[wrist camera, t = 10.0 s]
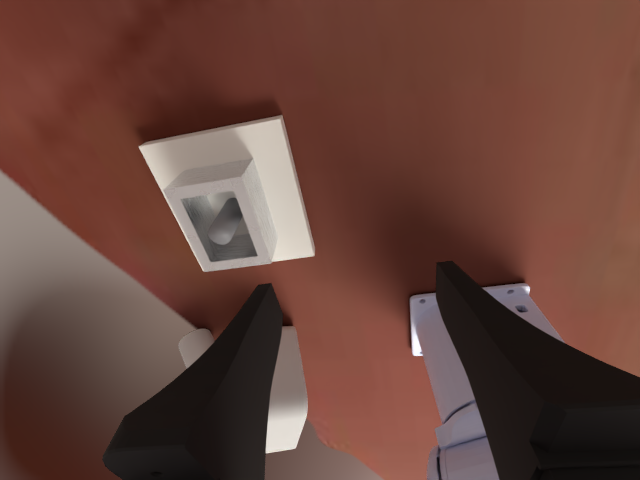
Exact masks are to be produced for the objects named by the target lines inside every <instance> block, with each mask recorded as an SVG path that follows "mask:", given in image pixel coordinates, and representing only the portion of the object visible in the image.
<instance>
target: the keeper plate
mask: <svg viewBox="0 0 640 480" xmlns="http://www.w3.org/2000/svg"><path fill="white" fill-rule="evenodd" d="M139 148H140V150H141V152H142V154H143V156H144V158H145V160H146V162H147V164H148V166H149V168H150V170H151V172H152V174H153V175H154V177H155V179H156V181H157V183H158V185H159V187H160V189H161V191H162V193H163V195H164V197H165V199H166V201H167V202H168V204H169V206H170V208H171V210H172V212H173V214H174V216H175V218H176V220H177V222H178V224H179V226H180V227H181V229H182V231H183V233H184V235H185V237H186V239H187V241H188V243H189V245H190V247H191V249H192V251H193V253H194V254H195V252H194V250H193V248H192V246H191V244H190V242H189V240H188V238H187V236H186V234H185V232H184V230H183V228H182V226H181V224H180V222H179V220H178V218H177V216H176V214H175V212H174V210H173V208H172V206H171V204H170V202H169V200H168V198H167V197H166V195H165V193H164V191H163V189H164V188H166V187H167V186H168V185H169V184H170V183H171V182H172V181H173V180H174V179H175V178H176V177H178V176H179V175H180V174H181V173H182V172H183V171H184V170H187V169H193V168H199V167H204V166H210V165H216V164H222V163H227V162H233V161H239V160H244V159H250V158H254V161H255V164H256V168H257V171H258V174H259V177H260V180H261V184H262V187H263V190H264V193H265V196H266V200H267V203H268V206H269V209H270V212H271V216H272V219H273V222H274V225H275V229H276V232H277V235H278V241H277V245H276V249H275V252H274V256H273V260H272V262H274V261H282V260H289V259H296V258H304V257H311V256H314V255H315V246H314V242H313V238H312V234H311V230H310V226H309V222H308V218H307V214H306V209H305V205H304V201H303V197H302V193H301V189H300V185H299V181H298V177H297V173H296V169H295V164H294V160H293V156H292V152H291V148H290V144H289V140H288V136H287V132H286V128H285V124H284V120H283V115H279V116H274V117H269V118H264V119H259V120H254V121H249V122H244V123H239V124H234V125H229V126H224V127H219V128H214V129H209V130H204V131H199V132H194V133H189V134H184V135H179V136H174V137H169V138H164V139H159V140H154V141H149V142H146V143H144V144H142V145H140V146H139ZM207 198H208V200H209V202H210V205H211V207H212V209H213V212H214V214H215V216H216V218H215V220H214V221H213V223H212V225H211V226H210V228H209V229H208V236H209V238H210V239H211V240H212V241H213V242H215V243H217V244H221V245H224V244H227V243H229V242H230V241H231V239H232V237H233V236H235V235H242V234H249V231H248V228H247V225H246V222H245V220H244V217H243V214H242V212H241V209H240V206H239V204H238V201H237V198H236V195H235V193H234V190H233V191H227V192H221V193H215V194H208V195H207ZM195 256H196V254H195ZM196 258H197V260H198V262H199V264H200V266H201V268H202V270H203V271H204V269H203V267H202V265H201V263H200V261H199V259H198V257H197V256H196Z"/></svg>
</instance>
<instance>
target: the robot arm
mask: <svg viewBox="0 0 640 480" xmlns="http://www.w3.org/2000/svg"><path fill="white" fill-rule="evenodd" d="M509 290H510V291H509ZM529 292H530V287H529V286H528V285H527V284H526V283H519V284H510V285H501V286H492V287H483V288H482V287H481V286H479V285H478V284H477V283H476V282H475V281H474V280H473V279H471V278H470V277H469V276H468V275H467V274H466V273H465V272H464V271H463V270H462V269H460V268H459V267H458V266H457V265H456V264H455V263H454V262H453V261H446V262H438V263H437V266H436V293H429V294H420V295H414V296H412V297H411V298H410V323H411V348H412V354H413V355H414V356H423V358H424V361H425V365H426V368H427V372H428V376H429V379H430V383H431V386H432V390H433V393H434V397H435V400H436V404H437V407H438V411H439V414H440V418H441V421H442V425H441V426H439V427H437V428H435V432H436V436H437V440H438V444H439V445H437V446H434V447H433V448H432V449H431V451H430V454H429V459H428V465H427V480H640V377H637V376H635V375H633V374H630V373H628V372H625V371H623V370H621V369H618V368H616V367H614V366H611V365H609V364H606V363H604V362H602V361H600V360H598V359H596V358H594V357H592V356H589V355H587V354H585V353H583V352H581V351H579V350H577V349H575V348H573V347H571V346H569V345H567V344H565V342H564V341H563V340H562V338H561V337H560V336H559V334H558V333H557V332H556V330H555V329H554V328H553V326H552V325H551V324H550V323H549V321H548V320H547V319H546V317H545V316H544V315H543V313H542V312H541V311H540V309H539V308H538V307H537V305H536V304H535V303H534V301H533V300H532V299H531V297H530V296H529ZM422 299H424V300H422ZM282 322H283V313H282V311H281V308H280V305H279V303H278V300H277V297H276V294H275V292H274V289H273V286H272V284H271V283H269V284H261V285H258V286H257V287H256V289H255V290H254V291H253V293H252V294H251V296H250V297H249V298H248V300H247V301H246V303H245V304H244V305H243V307H242V308H241V309H240V311H239V312H238V313H237V315H236V316H235V317H234V319H233V320H232V321H231V323H230V324H229V325H228V326H227V327H226V329H225V330H224V331H223V332H222V334H221V335H220V336H219V337H218V338H217V339H216V341H215V342H214V343H213V344H212V345H211V346H210V347H209V348H208V349H207V350H206V351H205V352H204V353H203V354H202V355H201V356H200V357H199V358H198V359H197V360H196V361H195V362H194V363H193V364H192V365H190V366H189V367H188V368H187V369H186V370H185V371H184V372H183V373H182V374H181V375H180V376H178V377H177V378H176V379H175V380H174V381H172V382H171V383H170V384H169V385H167V386H166V387H165V388H163V389H162V390H161V391H160V392H159V393H157V394H156V395H154V396H153V397H152V398H150V399H149V400H147V401H146V402H145V403H143V404H142V405H140V406H139V407H137V408H136V409H135V410H133V411H132V412H131V413H129V414H128V415H126V416H125V417H124V418H123V420H122V422H121V424H120V425H119V427H118V429H117V431H116V433H115V435H114V436H113V438H112V440H111V442H110V444H109V446H108V447H107V449H106V451H105V453H104V455H103V462H104V464H105V466H106V467H107V468H108V469H109V470H110V471H111V472H113V473H114V474H115V475H117V476H118V477H120V478H121V479H122V480H264V475H265V474H264V473H265V455H266V438H267V426H268V413H269V403H270V394H271V387H272V381H273V376H274V371H275V366H276V361H277V356H278V351H279V346H280V341H281V336H282Z"/></svg>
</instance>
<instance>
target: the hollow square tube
mask: <svg viewBox="0 0 640 480" xmlns="http://www.w3.org/2000/svg"><path fill="white" fill-rule="evenodd" d="M233 190H234V193H235V195H236V198H237V201H238V204H239V206H240V209H241V212H242V214H243V217H244V220H245V222H246V225H247V228H248V231H249V234H242V235H235V236H233V237H232V239H231V241H230V242H229V243H227V244H224V245H221V244H217V243H215V242H213V241H212V240H211V239H210V238H209V236H208V229H209V228H210V226H211V225H212V223H213V221H214V220H215V218H216V216H215V214H214V212H213V209H212V207H211V205H210V202H209V200H208V198H207V195H208V194H215V193H221V192H227V191H233ZM163 191H164V193H165V195H166V197H167V198H168V200H169V202H170V204H171V206H172V208H173V210H174V212H175V214H176V216H177V218H178V220H179V222H180V224H181V226H182V228H183V230H184V232H185V234H186V236H187V238H188V240H189V242H190V244H191V246H192V248H193V250H194V252H195V254H196V256H197V257H198V259H199V261H200V263H201V265H202V267H203V269H204V271H205V272H208V271H216V270H224V269H232V268H240V267H247V266H255V265H263V264H271V263H272V260H273V256H274V252H275V249H276V245H277V241H278V235H277V232H276V229H275V225H274V222H273V219H272V216H271V212H270V209H269V206H268V203H267V200H266V196H265V193H264V190H263V187H262V184H261V180H260V177H259V174H258V171H257V168H256V164H255V161H254V158H250V159H244V160H239V161H233V162H227V163H222V164H216V165H210V166H204V167H199V168H193V169H187V170H184V171H183V172H182V173H181V174H180V175H179V176H178V177H176V178H175V179H174V180H173V181H172V182H171V183H170V184H169V185H168V186H167V187H166V188H164V189H163Z"/></svg>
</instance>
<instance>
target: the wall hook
mask: <svg viewBox="0 0 640 480" xmlns="http://www.w3.org/2000/svg"><path fill="white" fill-rule="evenodd" d="M214 342H215V340H214V338H213V336H212V334H211V332H210V331H209V330H208V329H197V330H194V331H192V332H190V333H188V334H187V335H185V336H184V337H183V338H182V339H181V341H180V342H179V346H178V347H179V350H180V353H181V355H182V358H183V360H184V363H185V365H186V368H188V367H189V366H190V365H192V364H193V363H194V362H195V361H196V360H197V359H198V358H199V357H200V356H201V355H202V354H203V353H204V352H205V351H206V350H207V349H208V348H209V347H210V346H211V345H212V344H213V343H214ZM307 407H308V402H307V390H306V384H305V379H304V373H303V367H302V361H301V355H300V350H299V344H298V338H297V332H296V329H295V327H294V326H283V327H282V336H281V341H280V346H279V351H278V356H277V361H276V366H275V371H274V376H273V381H272V387H271V394H270V403H269V413H268V426H267V438H266V453H270V452H277V451H283V450H290V449H295V448H296V446H297V443H298V440H299V437H300V434H301V431H302V428H303V425H304V422H305V420H306V417H307Z"/></svg>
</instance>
